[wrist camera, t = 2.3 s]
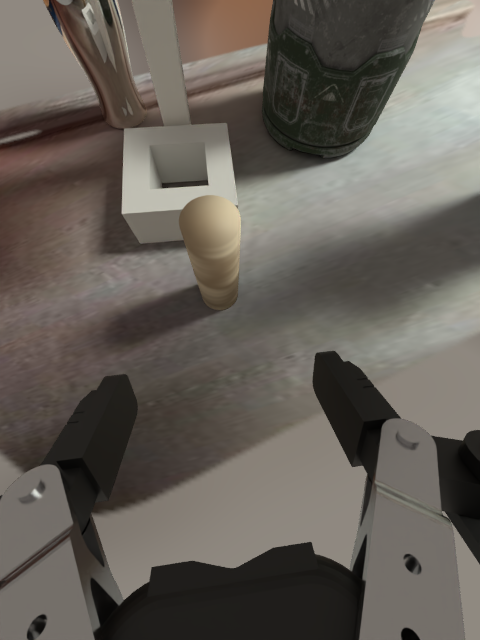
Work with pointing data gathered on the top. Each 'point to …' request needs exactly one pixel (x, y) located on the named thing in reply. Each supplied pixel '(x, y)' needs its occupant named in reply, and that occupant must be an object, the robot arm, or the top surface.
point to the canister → (335, 68)
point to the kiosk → (169, 140)
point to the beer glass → (101, 56)
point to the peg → (213, 247)
